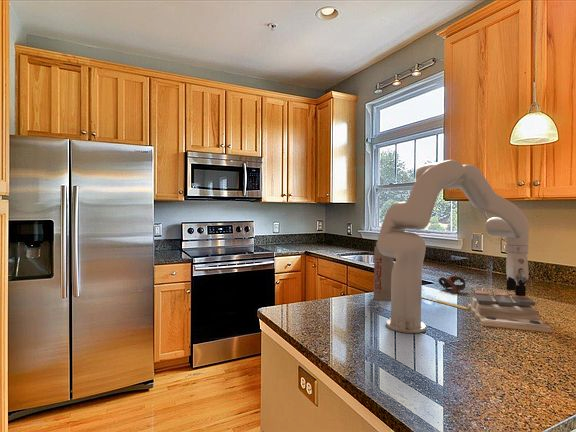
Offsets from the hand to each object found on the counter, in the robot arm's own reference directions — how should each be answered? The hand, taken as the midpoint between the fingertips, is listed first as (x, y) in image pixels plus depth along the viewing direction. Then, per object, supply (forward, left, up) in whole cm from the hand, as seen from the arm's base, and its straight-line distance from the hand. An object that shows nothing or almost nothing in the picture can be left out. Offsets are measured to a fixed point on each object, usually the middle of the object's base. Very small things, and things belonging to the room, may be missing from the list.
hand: (515, 293), depth 131 cm
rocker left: (-8, +13, -1) cm, 16 cm away
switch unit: (-11, +7, -7) cm, 15 cm away
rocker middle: (-8, +7, -1) cm, 11 cm away
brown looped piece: (+29, +18, -8) cm, 35 cm away
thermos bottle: (+3, +50, -7) cm, 50 cm away
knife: (+8, +29, -8) cm, 31 cm away
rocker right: (-8, 0, -1) cm, 8 cm away
